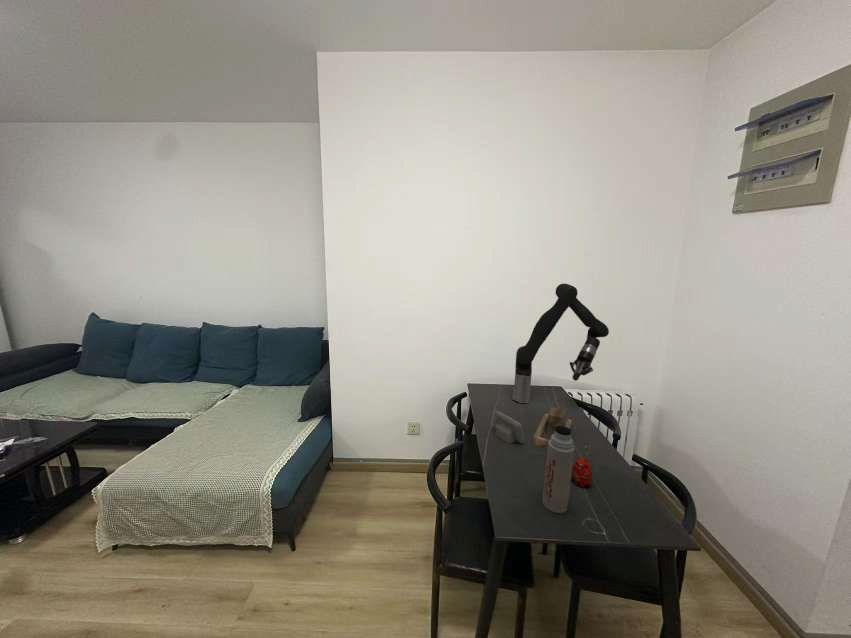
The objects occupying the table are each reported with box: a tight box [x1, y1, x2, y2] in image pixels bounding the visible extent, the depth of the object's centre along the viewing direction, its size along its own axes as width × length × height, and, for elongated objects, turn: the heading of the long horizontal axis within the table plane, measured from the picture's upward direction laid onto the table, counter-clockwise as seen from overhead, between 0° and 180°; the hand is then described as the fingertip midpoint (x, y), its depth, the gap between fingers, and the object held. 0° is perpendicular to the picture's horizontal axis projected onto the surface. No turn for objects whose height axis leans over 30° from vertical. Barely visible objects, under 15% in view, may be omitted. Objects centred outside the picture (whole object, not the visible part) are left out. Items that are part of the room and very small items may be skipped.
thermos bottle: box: [542, 425, 575, 514], centre depth 107 cm, size 8×8×28 cm
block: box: [546, 406, 566, 434], centre depth 159 cm, size 6×10×9 cm, turn 150°
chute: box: [532, 413, 573, 450], centre depth 154 cm, size 13×28×4 cm, turn 150°
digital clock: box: [494, 410, 525, 445], centre depth 150 cm, size 16×9×11 cm, turn 19°
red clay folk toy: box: [571, 444, 593, 488], centre depth 120 cm, size 8×7×15 cm
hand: (574, 379), depth 172 cm, fingers closed
